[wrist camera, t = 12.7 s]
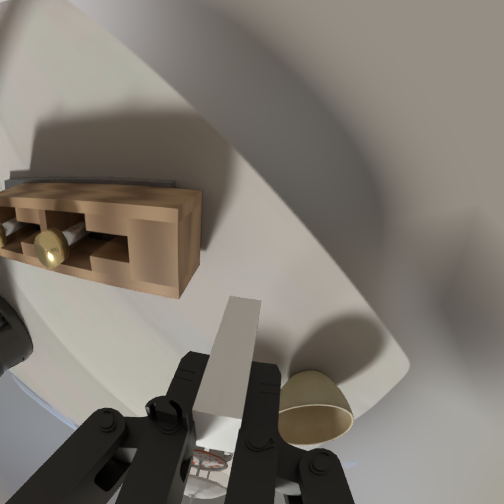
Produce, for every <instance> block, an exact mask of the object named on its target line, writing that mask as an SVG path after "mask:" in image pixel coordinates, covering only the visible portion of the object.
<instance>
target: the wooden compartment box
mask: <svg viewBox="0 0 504 504" xmlns="http://www.w3.org/2000/svg"><path fill="white" fill-rule="evenodd" d="M201 210H202V191H200V190H189V189H177V188H164V187H150V186H133V185H113V184H83V183H23V184H20V185H17V186H14V187H12V188H9V189H6V190H4V191H1V192H0V222H1V223H2V224H3V223H5V222H7V221H9V220H11V219H13V218H15V217H17V221H21V222H28V223H30V224H28V225H26V226H24V227H22V228H20V229H18V230H16V231H15V232H13V233H11V234H9V235H7V236H6V244H5V246H3V247H1V248H0V256H3V257H6V258H9V259H13V260H16V261H19V262H23V263H26V264H30V265H33V266H37V267H40V268H44V269H47V270H51V271H55V272H58V273H62V274H66V275H70V276H74V277H78V278H82V279H86V280H90V281H94V282H99V283H103V284H107V285H112V286H116V287H121V288H125V289H130V290H135V291H139V292H144V293H149V294H154V295H159V296H164V297H170V298H175V299H179V298H180V297H181V295H182V293H183V292H184V290H185V288H186V287H187V285H188V283H189V282H190V280H191V278H192V276H193V275H194V273H195V271H196V270H197V268H198V267H199V265H200V234H201ZM84 219H85V222H86V231H94V232H101V233H108V234H116V235H117V236H116V237H115V238H113V239H112V240H110V241H109V242H108V241H102V240H95V239H89V238H87V235H85V236H84V237H82V238H81V239H79V240H78V241H76V242H74V243H73V244H71V245H70V246H69V255H68V257H67V259H66V260H64V261H63V262H62V263H60V264H59V265H58V266H56V267H55V268H53V269H49V268H47V267H45V266H44V265H43V264H42V263H41V262H40V261H39V259H38V257H37V255H36V252H35V248H34V241H35V238H36V236H37V235H38V234H40V233H42V232H44V231H45V230H47V229H49V228H51V227H55V228H58V229H59V230H60V231H61V232H63V231H64V230H66V229H68V228H70V227H71V226H73V225H75V224H77V223H78V222H80V221H82V220H84ZM32 223H35V224H40V228H41V230H40V231H38V230H33V228H32Z"/></svg>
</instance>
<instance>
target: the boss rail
mask: <svg viewBox="0 0 504 504" xmlns="http://www.w3.org/2000/svg"><path fill="white" fill-rule="evenodd" d="M23 183H83V184H113V185H133V186H150V187H164V188H175V181H167V180H150V179H130V178H97V177H46V178H16V179H8V180H5V190H6V189H9V188H12V187H14V186H17V185H20V184H23ZM28 224H30V223H28V222H21V221H17V217H15V218H13V219H11V220H9V221H7V222H5V223H3V224H2V223H1V222H0V248H1V247H3V246H5V244H6V236H7V235H9V234H11V233H13V232H15V231H16V230H18V229H20V228H22V227H24V226H26V225H28ZM32 228H33V230H38V231H40V230H41V228H40V224H35V223H32ZM85 235H87V238H89V239H95V240H102V241H108V242H109V241H110V240H112V239H113V238H115V237H116V236H117V235H116V234H108V233H101V232H94V231H86V222H85V219H84V220H82V221H80V222H78V223H77V224H75V225H73V226H71V227H70V228H68V229H66V230H64V231H63V232H61V231H60V230H59V229H58V228H55V227H51V228H49V229H47V230H45V231H44V232H42V233H40V234H38V235H37V236H36V238H35V241H34V248H35V252H36V255H37V257H38V259H39V261H40V262H41V263H42V264H43V265H44V266H45V267H47V268H49V269H53V268H55V267H56V266H58V265H59V264H60V263H62V262H63V261H64V260H66V259H67V257H68V255H69V246H70V245H71V244H73V243H74V242H76V241H78V240H79V239H81V238H82V237H84V236H85Z"/></svg>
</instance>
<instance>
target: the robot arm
mask: <svg viewBox="0 0 504 504" xmlns="http://www.w3.org/2000/svg"><path fill="white" fill-rule="evenodd" d="M260 306H261V300H254V299H247V298H240V297H234V296H230V297H229V300H228V303H227V306H226V309H225V312H224V315H223V318H222V321H221V324H220V327H219V330H218V333H217V336H216V339H215V342H214V345H213V348H212V351H211V354H210V355H207V354H202V353H197V352H192V351H190V352H188V353H187V354H186V355H185V356H184V357H183V358H182V359H181V361H180V363H179V365H178V368H177V370H176V372H175V375H174V378H173V379H172V382H171V384H170V386H169V389H168V391H167V393H166V396H159V397H155V398H153V399H152V400H150V401H149V402H148V403H147V404H146V406H145V408H146V411H147V414H148V416H146V417H123V415H122V414H121V413H120V412H119V411H117V410H115V409H112V408H102V409H98V410H97V411H95V412H94V413H92V415H91V416H90V417H89V418H88V419H87V420H86V421H85V422H84V423H83V424H82V425H81V426H80V427H79V428H78V429H77V430H76V431H75V432H74V433H73V434H72V435H71V436H70V437H69V438H68V439H67V440H66V442H64V444H62V445H61V446H60V448H59V449H58V450H57V451H56V452H55V453H54V454H53V455H52V456H51V457H50V458H49V459H48V460H47V461H46V462H45V463H44V464H43V465H42V466H41V467H40V468H39V469H38V470H37V471H36V472H35V473H34V474H33V475H32V476H31V477H30V478H29V480H28V481H27V482H26V483H25V484H24V485H23V486H22V487H21V488H20V489H19V490H18V491H17V492H16V493H15V494H14V495H13V496H12V497H11V498H10V499H9V500H8V501H7V502H6V503H5V504H106V503H107V502H108V501H109V499H111V497H112V496H113V495H114V493H115V492H116V491H117V490H118V489H119V487H120V486H121V485H122V484H123V485H122V487H121V490H120V492H119V495H118V497H117V500H116V502H115V504H181V502H182V498H183V494H184V491H185V487H186V484H187V480H188V476H189V473H190V469H191V466H192V462H193V450H194V447H195V444H196V446H200V447H205V448H210V449H215V450H220V451H225V452H231V453H234V457H233V462H232V467H231V472H230V477H229V482H228V487H227V492H226V498H225V502H224V504H274V497H275V490H276V491H279V492H281V493H283V494H284V497H285V503H286V504H355V503H354V500H353V497H352V494H351V491H350V489H349V486H348V483H347V480H346V477H345V474H344V471H343V468H342V466H341V463H340V460H339V459H338V457H337V455H335V454H334V453H333V452H331V451H330V450H326V449H323V448H321V449H320V448H315V449H312V450H310V451H306V450H303V449H300V448H297V447H294V446H292V445H290V444H288V443H287V442H286V441H284V440H283V438H282V437H281V436H280V433H279V430H278V420H279V405H280V388H281V387H280V386H281V373H280V371H279V369H278V367H277V365H275V364H267V363H260V362H253V361H252V359H253V353H254V346H255V340H256V333H257V327H258V320H259V313H260ZM32 352H33V347H32V342H31V340H30V337H29V335H28V333H27V331H26V329H25V327H24V325H23V324H22V322H21V320H20V319H19V317H18V316H17V315H16V313H15V312H14V310H13V309H12V308H11V307H10V306H9V304H8V303H7V302H6V301H5V300H4V299H3V298H2V297H0V377H1V375H2V374H3V373H4V371H6V370H7V369H9V368H11V367H13V366H15V365H17V364H19V363H21V362H23V361H25V360H26V359H27V358H28V357H29V356H30V355H31V354H32Z"/></svg>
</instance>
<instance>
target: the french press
mask: <svg viewBox="0 0 504 504" xmlns="http://www.w3.org/2000/svg"><path fill="white" fill-rule="evenodd" d="M204 449H205V447H200V446H196V444H195V447H194V450H193V462H192V466H191V467H195V468H197V469H198V470H197V473H196V476H195V475H191V474H189V476H188V480H187V484H186V487H185V491H184V494H185V495H187V496H189V497H191V499H190V503H189V504H191V503H192V499H193V498H203V499H210V498H216V497H219V496H222V495H225V494H226V492H227V491H226V490H225V488H224V487H223V486H222V485H220V484H219V483H217V482H214V481H212V480H209V479H208V478H209V474H210V471H222V470H225V469H226V468H227V467H228V465H227V463H226V462H228V461H230V460H231V459H232V456H233V453H231V452H229V453H230V455H224V452H225V451H220V450H215V449H210V450H209V452H207V451H204ZM200 469H202V470H204V471H205V470H206V471H208V475H207V479H206V478H203V477H199V476H198V475H199V471H200Z"/></svg>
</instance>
